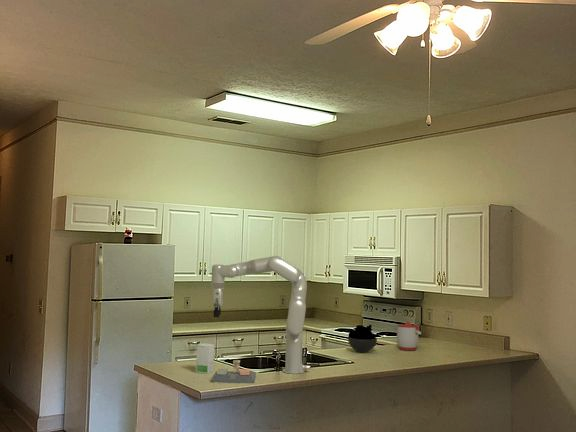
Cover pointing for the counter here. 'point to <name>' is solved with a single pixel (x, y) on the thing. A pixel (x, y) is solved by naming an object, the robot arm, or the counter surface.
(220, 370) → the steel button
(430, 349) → the counter surface
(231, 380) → the switch panel
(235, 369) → the birch paddle
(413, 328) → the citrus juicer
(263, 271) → the robot arm
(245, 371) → the terracotta button
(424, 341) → the counter surface
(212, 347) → the skincare box
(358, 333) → the bowl of black rocks
